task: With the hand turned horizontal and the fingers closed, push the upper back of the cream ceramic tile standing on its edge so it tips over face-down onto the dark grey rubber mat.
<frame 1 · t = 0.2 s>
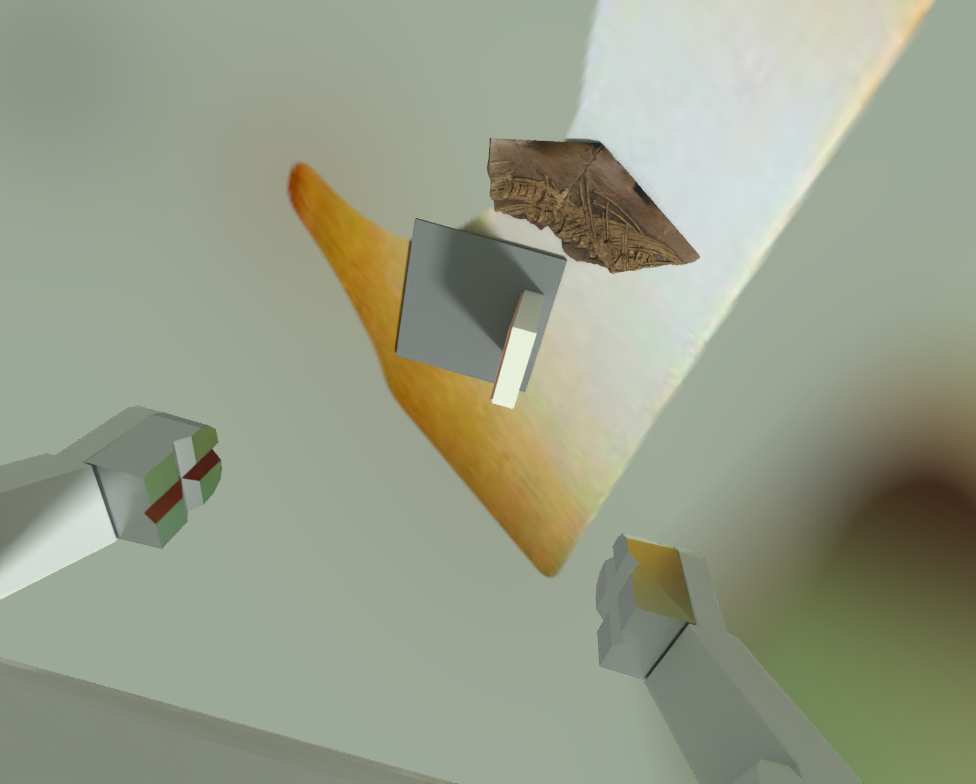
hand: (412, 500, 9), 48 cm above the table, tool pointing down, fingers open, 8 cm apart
tile: (524, 326, 57), resting on mat
wooden fragment: (592, 207, 51), on the table
mat: (475, 310, 58), on the table
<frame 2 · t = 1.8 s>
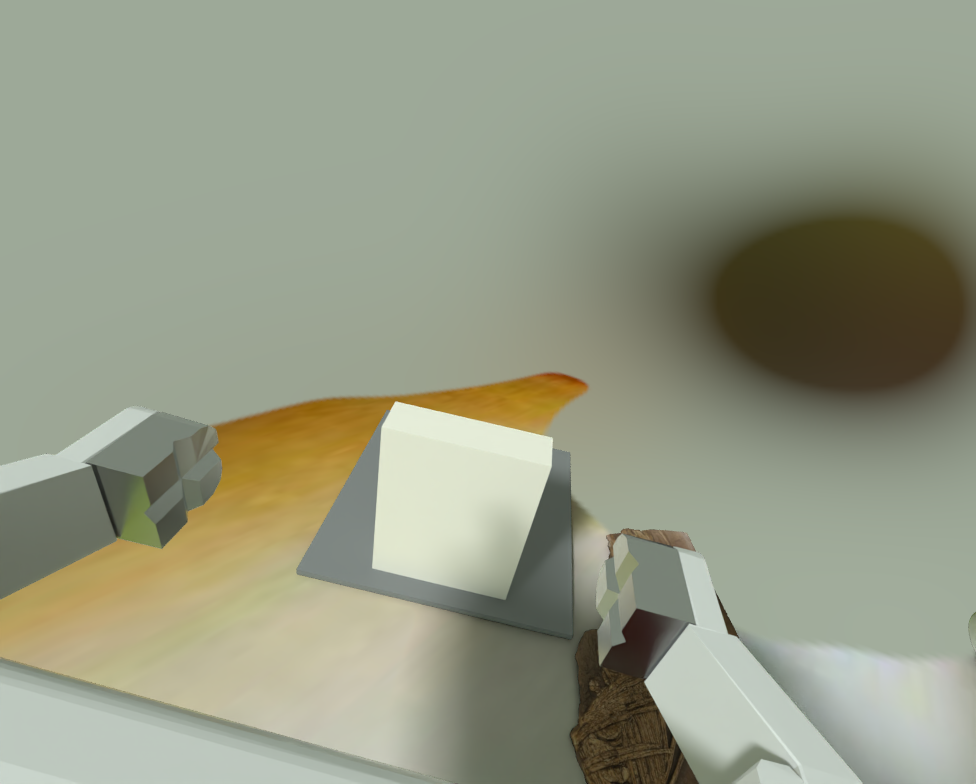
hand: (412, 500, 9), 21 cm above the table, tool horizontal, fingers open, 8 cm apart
tile: (442, 568, 32), resting on mat
wooden fragment: (662, 682, 29), on the table
mat: (459, 503, 37), on the table
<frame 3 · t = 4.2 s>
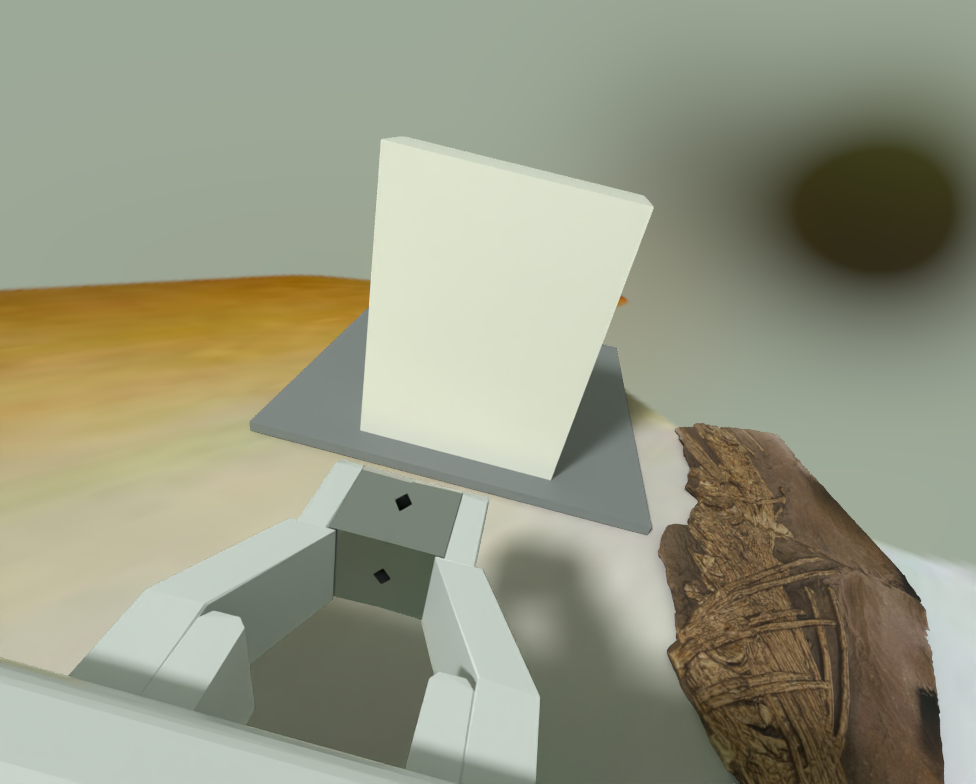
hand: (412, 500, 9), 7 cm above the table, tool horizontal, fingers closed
tile: (460, 439, 22), resting on mat
wooden fragment: (784, 599, 19), on the table
mat: (480, 381, 28), on the table
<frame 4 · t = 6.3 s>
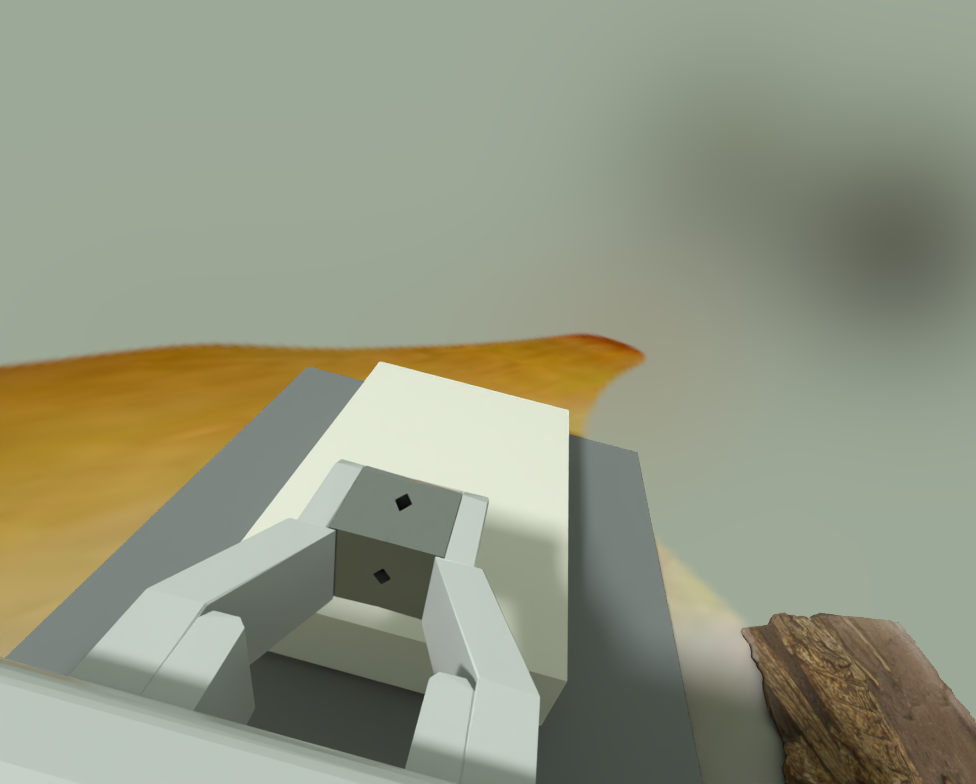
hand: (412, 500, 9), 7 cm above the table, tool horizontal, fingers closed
tile: (382, 658, 12), point 2 cm above the table, tilted 90°, touching mat
mat: (424, 551, 17), on the table
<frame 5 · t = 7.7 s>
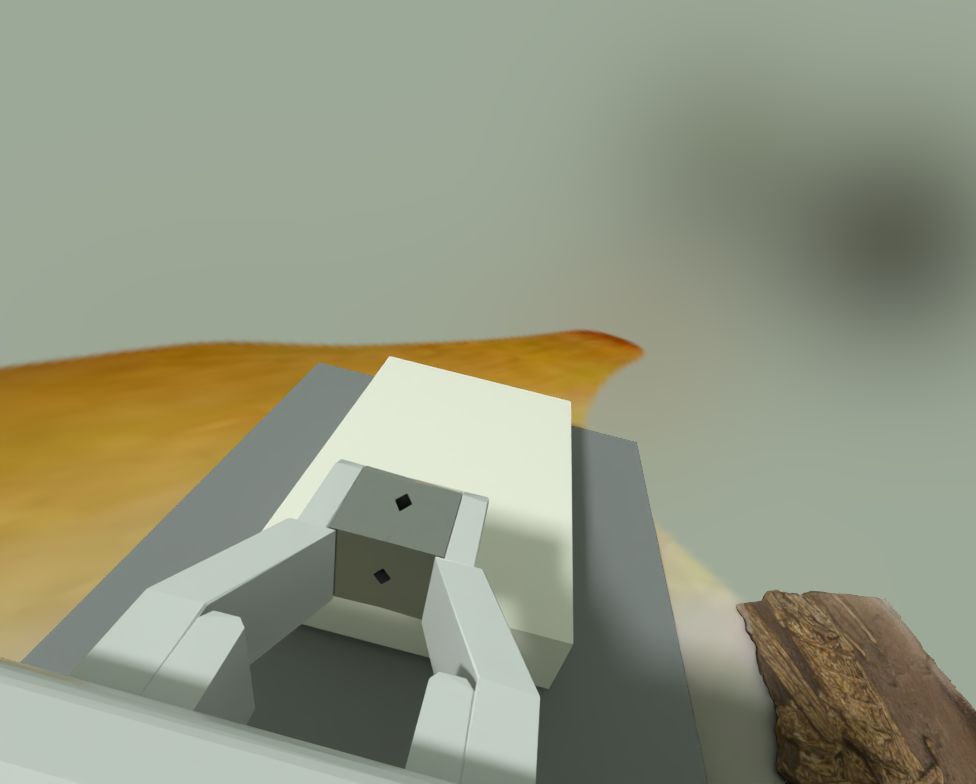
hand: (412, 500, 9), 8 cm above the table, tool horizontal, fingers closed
tile: (401, 626, 13), point 2 cm above the table, tilted 90°, touching mat
mat: (436, 534, 18), on the table
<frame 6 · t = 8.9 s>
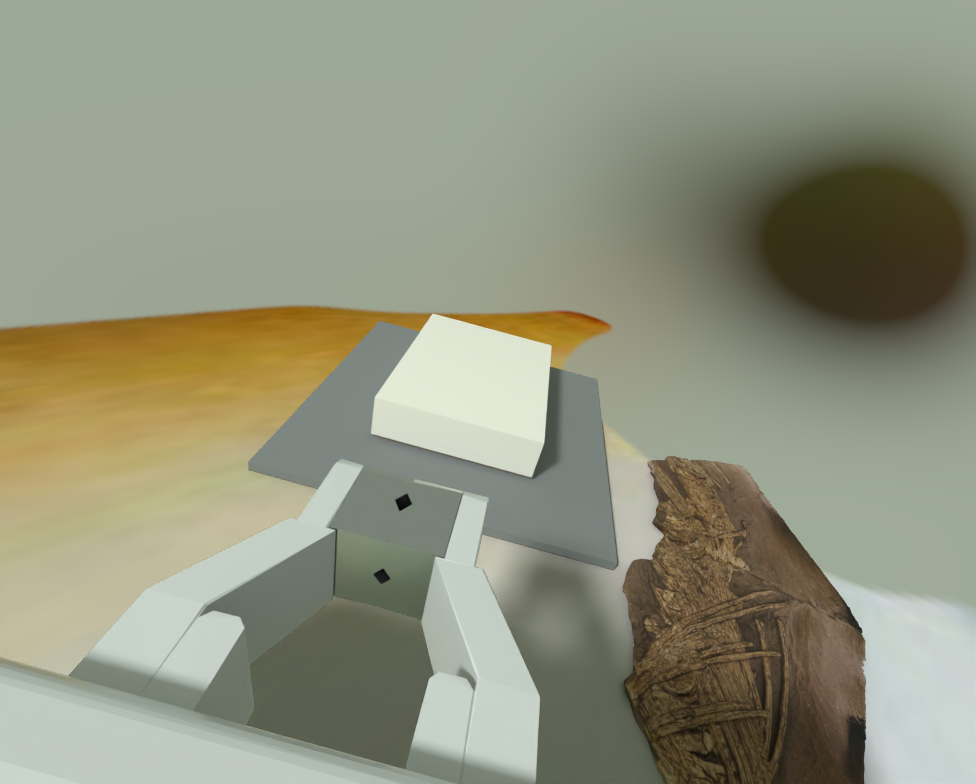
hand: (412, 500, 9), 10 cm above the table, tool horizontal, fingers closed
tile: (455, 438, 24), point 2 cm above the table, tilted 90°, touching mat
wooden fragment: (738, 630, 21), on the table
mat: (465, 416, 30), on the table
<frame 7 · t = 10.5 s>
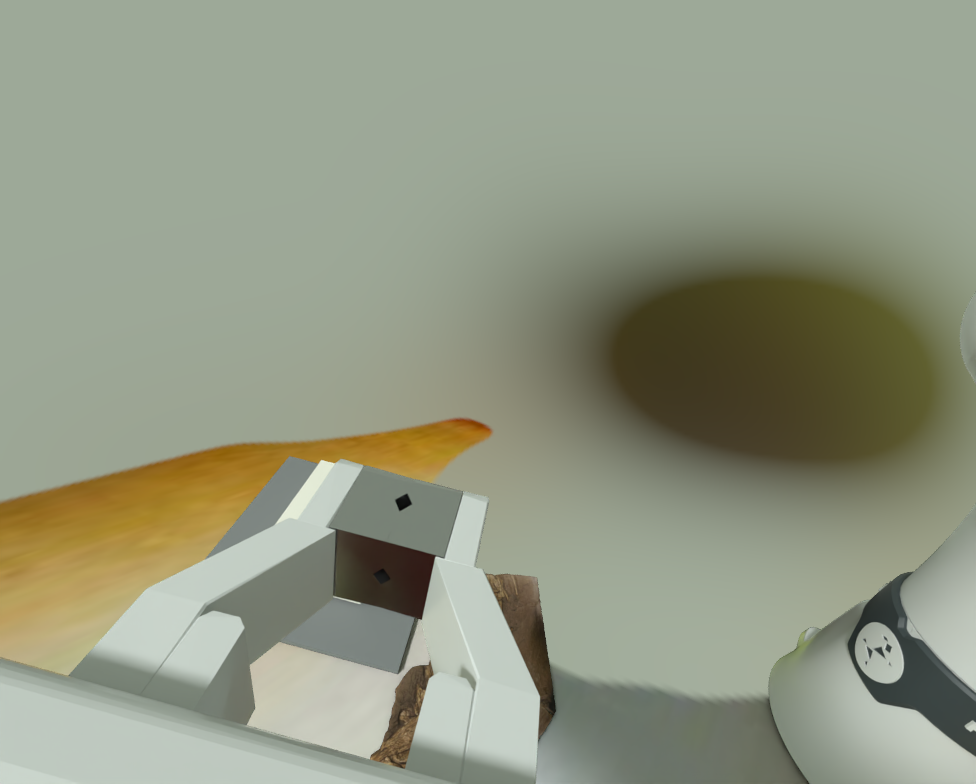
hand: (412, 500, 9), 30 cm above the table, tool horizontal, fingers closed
tile: (306, 580, 37), point 2 cm above the table, tilted 90°, touching mat
wooden fragment: (471, 714, 34), on the table
mat: (333, 547, 42), on the table
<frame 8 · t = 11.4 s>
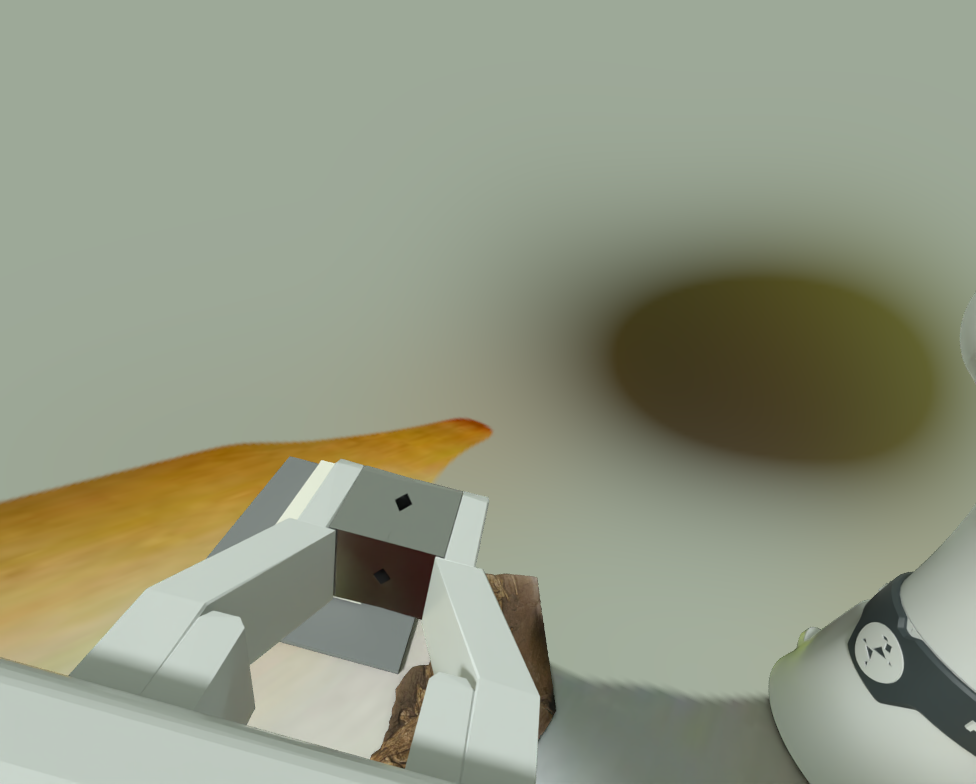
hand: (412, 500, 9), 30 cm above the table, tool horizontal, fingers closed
tile: (307, 580, 37), point 2 cm above the table, tilted 90°, touching mat
wooden fragment: (472, 713, 34), on the table
mat: (333, 547, 42), on the table
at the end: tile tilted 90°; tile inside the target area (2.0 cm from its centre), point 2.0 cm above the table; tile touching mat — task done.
